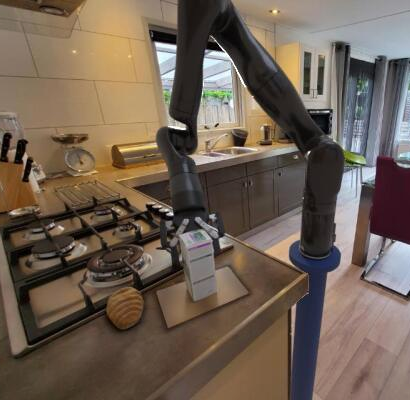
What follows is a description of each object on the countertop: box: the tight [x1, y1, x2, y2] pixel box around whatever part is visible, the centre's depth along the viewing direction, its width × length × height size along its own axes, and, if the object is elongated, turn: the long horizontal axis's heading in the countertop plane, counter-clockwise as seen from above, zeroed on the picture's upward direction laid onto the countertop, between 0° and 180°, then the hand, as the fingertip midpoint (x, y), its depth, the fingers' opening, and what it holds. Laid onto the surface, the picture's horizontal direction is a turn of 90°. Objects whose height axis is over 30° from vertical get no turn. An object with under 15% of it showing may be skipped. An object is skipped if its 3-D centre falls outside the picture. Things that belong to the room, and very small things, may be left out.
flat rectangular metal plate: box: [155, 265, 250, 330], centre depth 58 cm, size 18×12×1 cm, turn 123°
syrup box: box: [179, 229, 217, 302], centre depth 56 cm, size 6×6×14 cm
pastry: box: [105, 286, 145, 331], centre depth 51 cm, size 9×7×4 cm
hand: (198, 260), depth 56 cm, fingers open, 8 cm apart
